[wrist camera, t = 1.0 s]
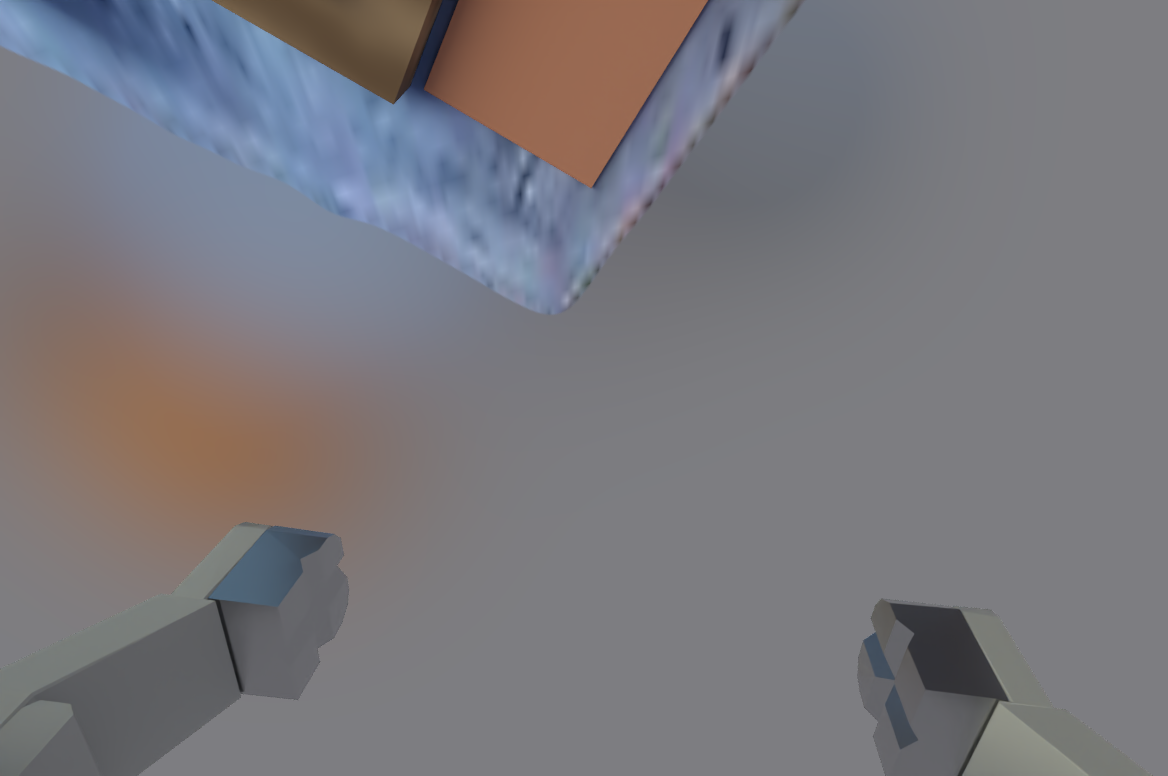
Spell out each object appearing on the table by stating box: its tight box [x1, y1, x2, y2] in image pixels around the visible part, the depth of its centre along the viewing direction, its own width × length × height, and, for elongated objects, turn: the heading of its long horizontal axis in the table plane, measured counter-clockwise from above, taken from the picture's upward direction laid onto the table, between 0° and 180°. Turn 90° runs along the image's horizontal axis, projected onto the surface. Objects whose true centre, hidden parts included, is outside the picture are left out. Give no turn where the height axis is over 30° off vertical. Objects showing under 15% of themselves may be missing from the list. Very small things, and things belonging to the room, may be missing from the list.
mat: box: [424, 0, 708, 188], centre depth 45 cm, size 16×14×1 cm
